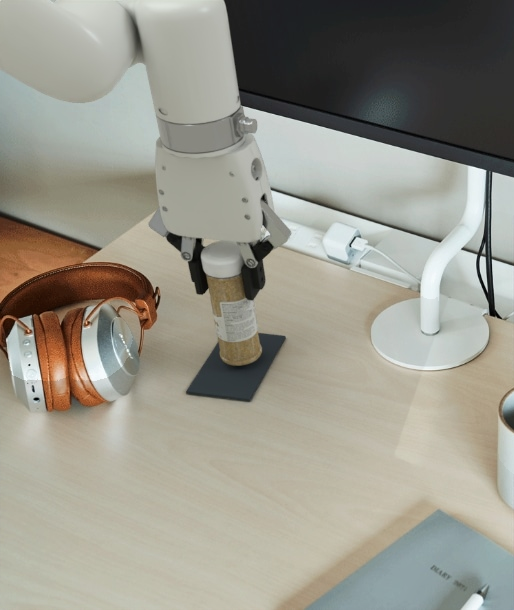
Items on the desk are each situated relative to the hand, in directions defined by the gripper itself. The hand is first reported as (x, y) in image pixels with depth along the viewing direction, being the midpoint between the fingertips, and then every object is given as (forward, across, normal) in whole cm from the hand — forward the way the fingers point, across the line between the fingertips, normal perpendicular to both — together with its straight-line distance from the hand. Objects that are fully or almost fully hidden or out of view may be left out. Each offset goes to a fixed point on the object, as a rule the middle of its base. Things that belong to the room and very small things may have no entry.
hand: (230, 288), depth 95 cm
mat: (+10, 0, 0) cm, 10 cm away
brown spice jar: (+9, 0, 0) cm, 9 cm away
